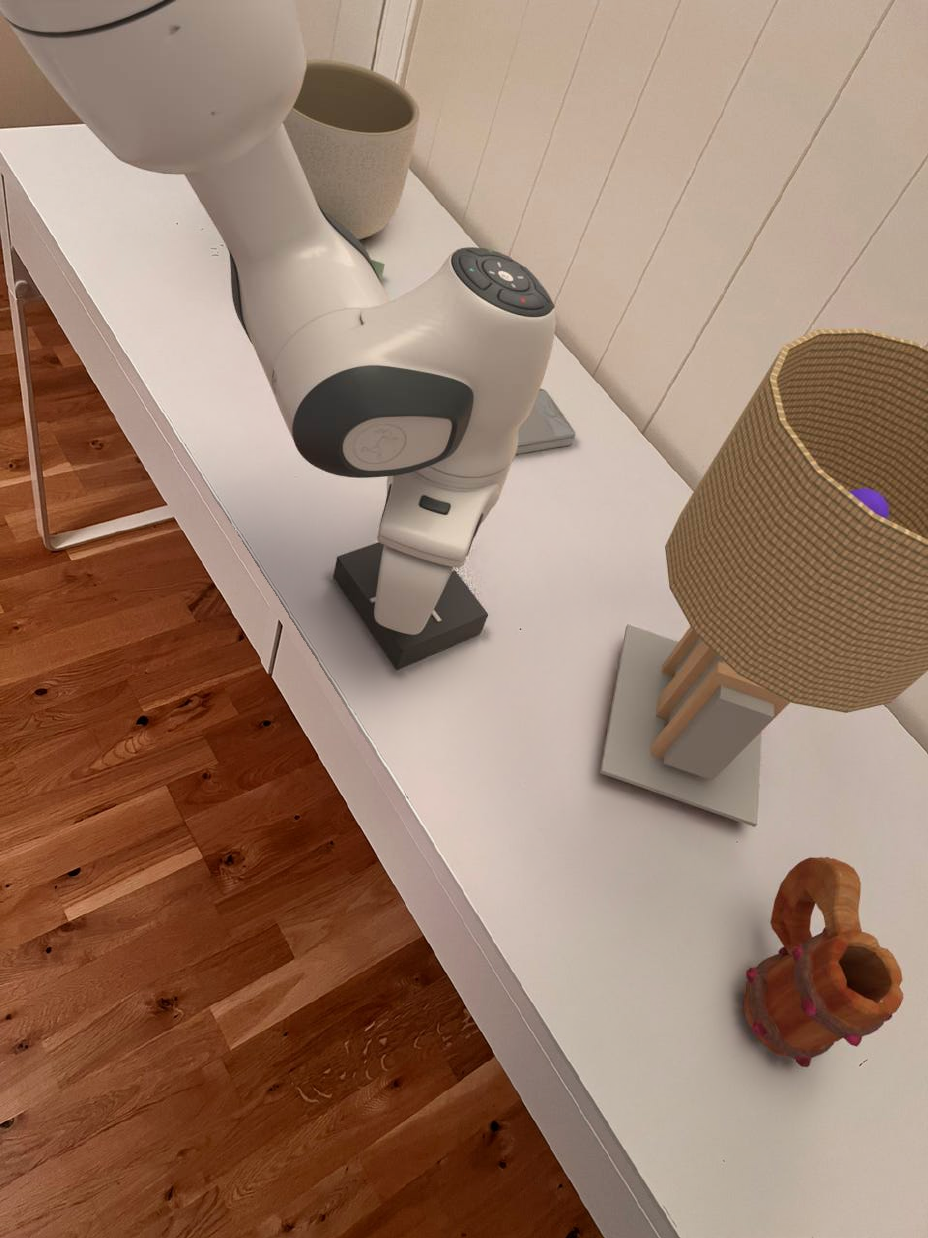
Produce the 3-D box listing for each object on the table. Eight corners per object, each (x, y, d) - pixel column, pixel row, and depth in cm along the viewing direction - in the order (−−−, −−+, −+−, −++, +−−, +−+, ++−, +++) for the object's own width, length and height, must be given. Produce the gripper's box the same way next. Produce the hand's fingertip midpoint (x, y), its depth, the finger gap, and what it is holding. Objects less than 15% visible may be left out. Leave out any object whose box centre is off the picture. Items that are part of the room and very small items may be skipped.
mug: (828, 1077, 64) (941, 1037, 55) (741, 1071, 63) (840, 1030, 54) (792, 907, 72) (886, 846, 62) (714, 899, 71) (796, 835, 61)
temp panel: (332, 577, 81) (337, 555, 78) (415, 547, 85) (422, 525, 83) (396, 670, 76) (403, 650, 74) (480, 634, 81) (489, 613, 78)
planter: (424, 236, 117) (449, 117, 106) (327, 273, 108) (343, 147, 96) (334, 170, 122) (349, 49, 110) (234, 200, 112) (239, 71, 100)
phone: (575, 445, 99) (578, 436, 98) (446, 467, 93) (449, 458, 92) (541, 396, 103) (544, 387, 102) (415, 413, 96) (417, 404, 95)
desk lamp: (590, 613, 85) (774, 290, 58) (783, 681, 86) (1056, 393, 58) (552, 790, 73) (763, 487, 46) (777, 869, 74) (1119, 616, 46)
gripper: (438, 369, 74) (407, 488, 84) (372, 544, 61) (345, 658, 71) (512, 394, 74) (472, 509, 85) (461, 572, 61) (421, 682, 72)
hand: (413, 579), depth 78 cm, fingers closed on dial, 4 cm apart
